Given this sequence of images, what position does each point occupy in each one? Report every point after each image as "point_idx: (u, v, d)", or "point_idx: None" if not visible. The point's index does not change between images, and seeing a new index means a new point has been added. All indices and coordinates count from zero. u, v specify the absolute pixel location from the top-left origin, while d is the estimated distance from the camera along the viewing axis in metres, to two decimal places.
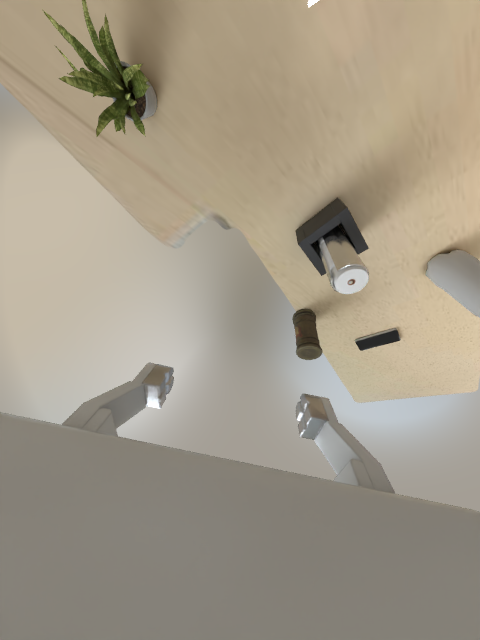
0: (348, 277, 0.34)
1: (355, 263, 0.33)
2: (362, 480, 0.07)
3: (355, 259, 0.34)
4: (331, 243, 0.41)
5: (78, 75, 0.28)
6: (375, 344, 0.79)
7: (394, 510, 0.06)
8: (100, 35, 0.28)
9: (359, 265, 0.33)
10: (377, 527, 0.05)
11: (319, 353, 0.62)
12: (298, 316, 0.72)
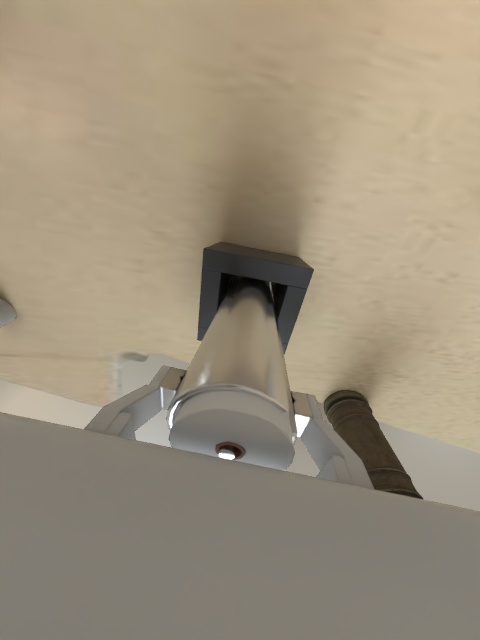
0: (200, 443, 0.08)
1: (185, 388, 0.08)
2: (341, 476, 0.07)
3: (202, 361, 0.09)
4: None
5: None
6: None
7: (394, 510, 0.06)
8: None
9: (198, 389, 0.08)
10: (377, 527, 0.05)
11: None
12: (330, 414, 0.38)
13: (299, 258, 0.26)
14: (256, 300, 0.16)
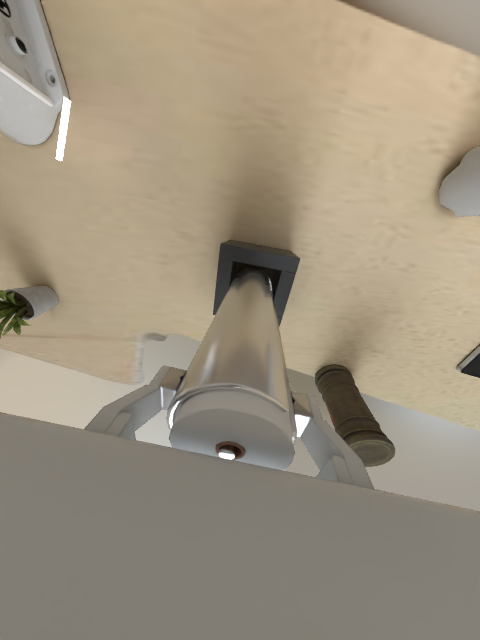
0: (200, 443, 0.08)
1: (185, 388, 0.08)
2: (342, 476, 0.07)
3: (202, 361, 0.09)
4: None
5: None
6: None
7: (394, 510, 0.06)
8: None
9: (198, 389, 0.08)
10: (377, 527, 0.05)
11: (387, 447, 0.30)
12: (319, 384, 0.45)
13: (291, 252, 0.33)
14: (256, 300, 0.16)
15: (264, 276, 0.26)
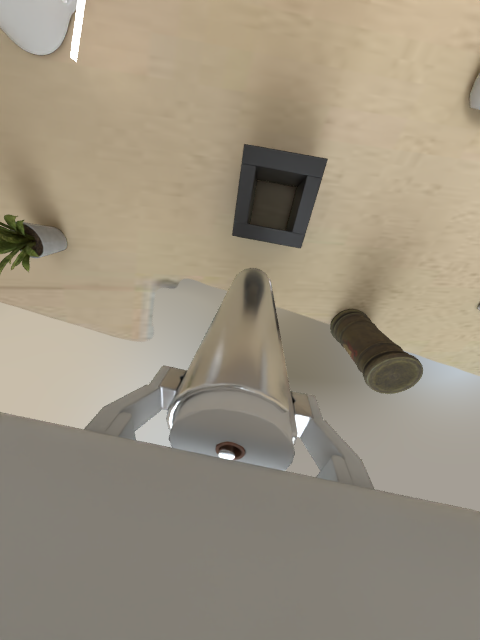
0: (200, 443, 0.08)
1: (185, 388, 0.08)
2: (341, 476, 0.07)
3: (202, 361, 0.09)
4: None
5: None
6: None
7: (394, 510, 0.06)
8: None
9: (198, 389, 0.08)
10: (377, 527, 0.05)
11: (415, 366, 0.29)
12: (336, 328, 0.44)
13: None
14: (256, 300, 0.16)
15: (264, 276, 0.26)
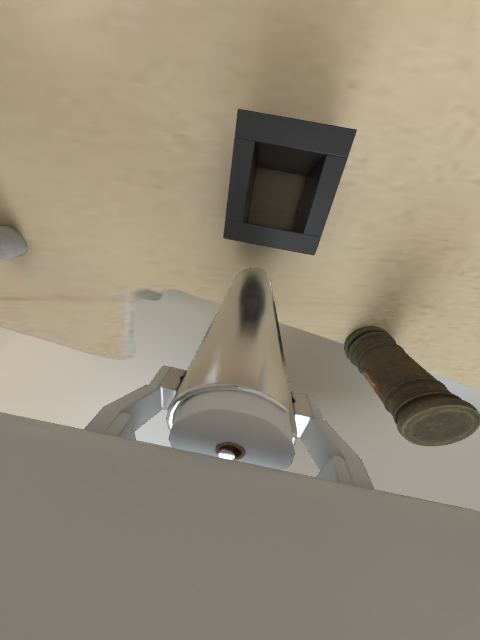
0: (200, 444, 0.08)
1: (185, 388, 0.08)
2: (342, 476, 0.07)
3: (202, 361, 0.09)
4: None
5: None
6: None
7: (394, 510, 0.06)
8: None
9: (198, 390, 0.08)
10: (377, 527, 0.05)
11: (471, 416, 0.21)
12: (352, 350, 0.36)
13: None
14: (256, 300, 0.16)
15: (264, 276, 0.26)
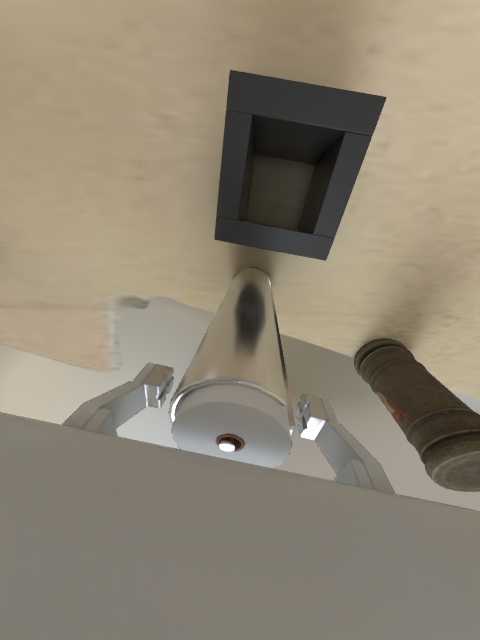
0: (201, 435, 0.08)
1: (187, 382, 0.09)
2: (362, 480, 0.07)
3: (203, 357, 0.10)
4: None
5: None
6: None
7: (394, 510, 0.06)
8: None
9: (199, 383, 0.08)
10: (377, 527, 0.05)
11: None
12: (364, 365, 0.32)
13: None
14: (256, 299, 0.17)
15: (264, 276, 0.27)
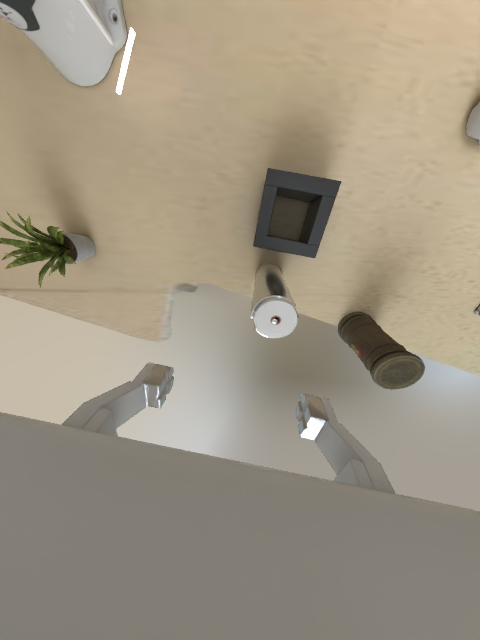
0: (265, 317, 0.24)
1: (260, 299, 0.24)
2: (362, 480, 0.07)
3: (263, 293, 0.25)
4: (254, 288, 0.34)
5: (9, 256, 0.35)
6: None
7: (394, 510, 0.06)
8: (25, 227, 0.38)
9: (265, 298, 0.24)
10: (377, 527, 0.05)
11: (418, 364, 0.33)
12: (344, 330, 0.47)
13: None
14: (277, 277, 0.32)
15: (277, 268, 0.42)
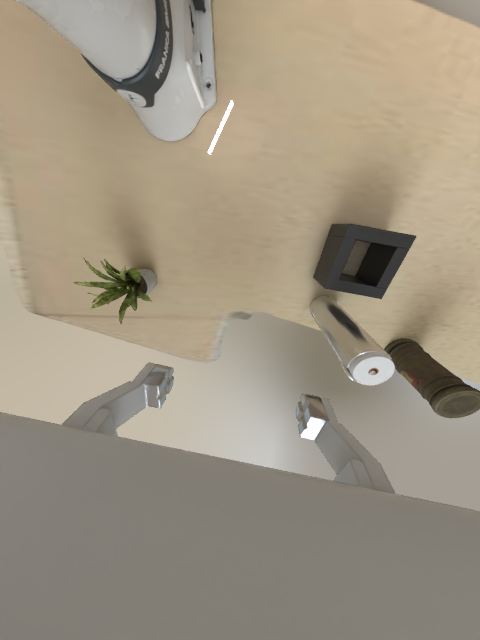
0: (364, 369, 0.27)
1: (359, 352, 0.27)
2: (362, 480, 0.07)
3: (357, 345, 0.28)
4: (327, 328, 0.37)
5: (98, 299, 0.38)
6: None
7: (394, 510, 0.06)
8: None
9: (365, 352, 0.27)
10: (377, 527, 0.05)
11: (479, 397, 0.36)
12: (392, 355, 0.50)
13: None
14: (352, 320, 0.35)
15: (335, 302, 0.45)
